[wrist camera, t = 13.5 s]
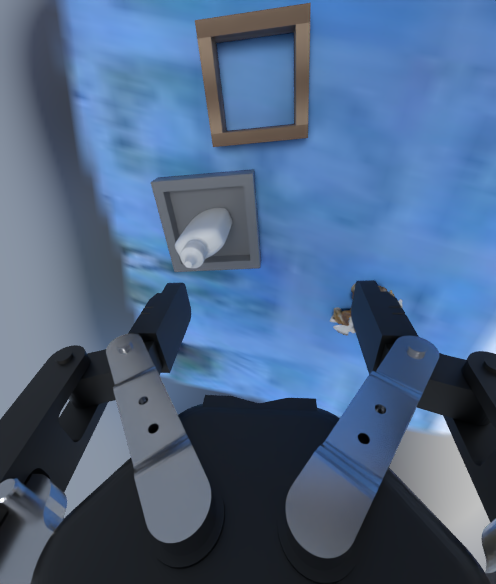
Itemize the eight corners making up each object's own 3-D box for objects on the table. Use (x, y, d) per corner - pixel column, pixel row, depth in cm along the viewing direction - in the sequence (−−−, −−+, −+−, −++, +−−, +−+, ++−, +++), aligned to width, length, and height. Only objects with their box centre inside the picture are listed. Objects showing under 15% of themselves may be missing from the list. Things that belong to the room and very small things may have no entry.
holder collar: (202, 28, 27) (194, 20, 24) (307, 12, 26) (310, 2, 23) (217, 143, 32) (212, 147, 30) (305, 135, 31) (307, 137, 29)
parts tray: (158, 177, 35) (150, 182, 33) (254, 169, 34) (252, 173, 31) (179, 263, 41) (174, 271, 39) (260, 259, 40) (260, 268, 38)
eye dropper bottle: (231, 240, 38) (216, 287, 28) (190, 234, 38) (160, 280, 28) (234, 208, 36) (218, 247, 26) (190, 202, 36) (157, 239, 26)
